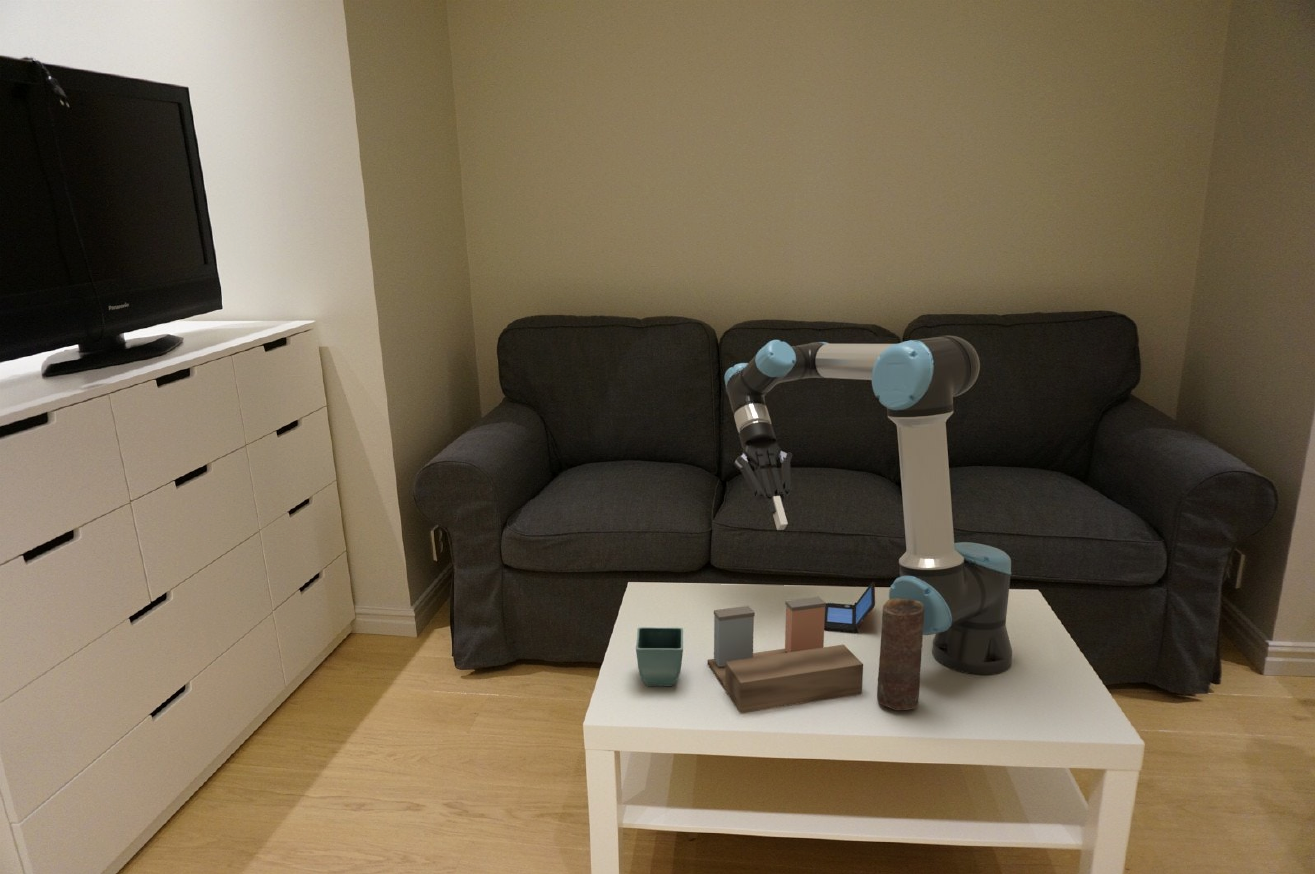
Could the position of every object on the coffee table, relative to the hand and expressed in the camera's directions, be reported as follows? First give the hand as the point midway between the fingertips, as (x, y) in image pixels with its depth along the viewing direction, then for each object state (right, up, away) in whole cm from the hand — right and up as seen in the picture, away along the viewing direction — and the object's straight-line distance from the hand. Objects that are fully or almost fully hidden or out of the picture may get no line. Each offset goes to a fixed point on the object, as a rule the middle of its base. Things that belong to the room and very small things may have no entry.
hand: (782, 527), depth 189 cm
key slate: (-11, -25, -9) cm, 29 cm away
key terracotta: (+4, -24, -6) cm, 25 cm away
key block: (-2, -28, -13) cm, 31 cm away
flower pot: (-25, -28, -14) cm, 40 cm away
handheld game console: (+16, -22, +11) cm, 29 cm away
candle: (+18, -30, -23) cm, 42 cm away
